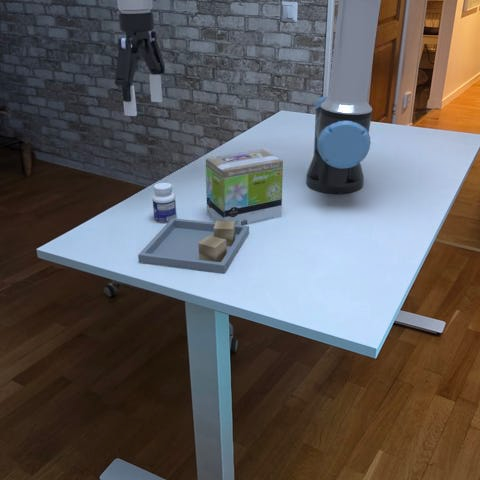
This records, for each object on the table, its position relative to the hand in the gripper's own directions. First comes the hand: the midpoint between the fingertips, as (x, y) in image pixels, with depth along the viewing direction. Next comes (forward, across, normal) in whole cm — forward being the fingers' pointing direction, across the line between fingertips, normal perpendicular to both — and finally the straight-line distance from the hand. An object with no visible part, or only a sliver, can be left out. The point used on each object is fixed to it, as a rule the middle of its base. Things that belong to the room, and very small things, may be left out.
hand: (144, 108), depth 133 cm
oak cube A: (+23, +18, +26) cm, 39 cm away
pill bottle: (+24, +11, +8) cm, 27 cm away
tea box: (+24, +4, +26) cm, 35 cm away
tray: (+23, +22, +21) cm, 38 cm away
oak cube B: (+23, +26, +26) cm, 43 cm away
